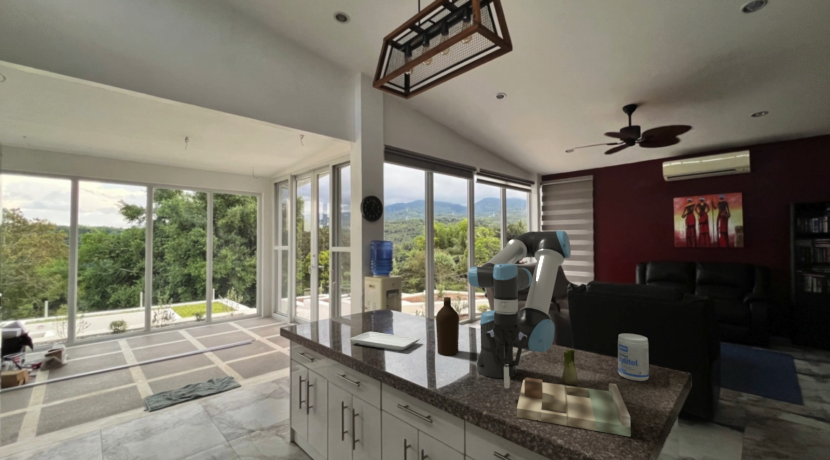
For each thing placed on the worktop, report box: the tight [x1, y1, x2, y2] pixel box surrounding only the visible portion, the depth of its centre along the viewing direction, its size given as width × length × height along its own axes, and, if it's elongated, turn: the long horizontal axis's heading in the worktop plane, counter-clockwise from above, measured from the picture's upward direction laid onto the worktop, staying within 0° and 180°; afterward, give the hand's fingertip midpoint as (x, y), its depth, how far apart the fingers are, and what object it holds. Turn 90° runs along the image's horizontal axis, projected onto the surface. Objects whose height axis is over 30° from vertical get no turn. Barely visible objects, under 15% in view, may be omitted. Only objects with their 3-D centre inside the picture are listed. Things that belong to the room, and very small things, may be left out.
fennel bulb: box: [561, 349, 579, 386], centre depth 121 cm, size 6×5×12 cm
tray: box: [349, 331, 421, 352], centre depth 171 cm, size 17×31×4 cm, turn 62°
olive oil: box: [435, 296, 460, 357], centre depth 158 cm, size 11×11×25 cm
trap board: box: [516, 379, 632, 437], centre depth 104 cm, size 28×22×5 cm
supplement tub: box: [617, 333, 650, 382], centre depth 128 cm, size 10×10×15 cm
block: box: [524, 377, 543, 399], centre depth 107 cm, size 5×5×4 cm
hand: (507, 386), depth 110 cm, fingers closed
